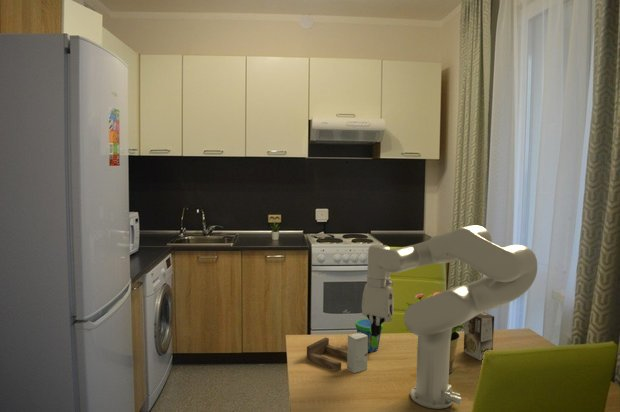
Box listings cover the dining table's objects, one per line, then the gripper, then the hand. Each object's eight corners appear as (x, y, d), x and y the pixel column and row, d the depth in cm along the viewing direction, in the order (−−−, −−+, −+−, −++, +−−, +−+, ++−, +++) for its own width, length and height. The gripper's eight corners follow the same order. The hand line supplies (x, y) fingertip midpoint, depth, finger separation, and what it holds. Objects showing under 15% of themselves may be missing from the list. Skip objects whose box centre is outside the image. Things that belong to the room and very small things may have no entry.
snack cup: (352, 340, 176) (353, 316, 175) (378, 340, 176) (378, 316, 175) (357, 356, 160) (358, 330, 159) (385, 357, 160) (386, 330, 160)
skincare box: (354, 373, 147) (355, 339, 146) (346, 368, 150) (347, 335, 149) (368, 369, 150) (368, 335, 149) (359, 364, 154) (360, 331, 153)
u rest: (356, 360, 157) (356, 347, 157) (338, 371, 148) (338, 357, 148) (325, 349, 166) (325, 337, 165) (306, 359, 157) (306, 346, 156)
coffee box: (493, 358, 161) (495, 316, 159) (479, 361, 158) (481, 318, 157) (475, 349, 169) (477, 309, 168) (462, 351, 167) (464, 310, 165)
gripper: (403, 284, 141) (401, 337, 143) (364, 275, 151) (362, 326, 152) (393, 288, 136) (390, 344, 137) (353, 279, 145) (351, 332, 146)
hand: (375, 335), depth 145 cm, fingers closed
